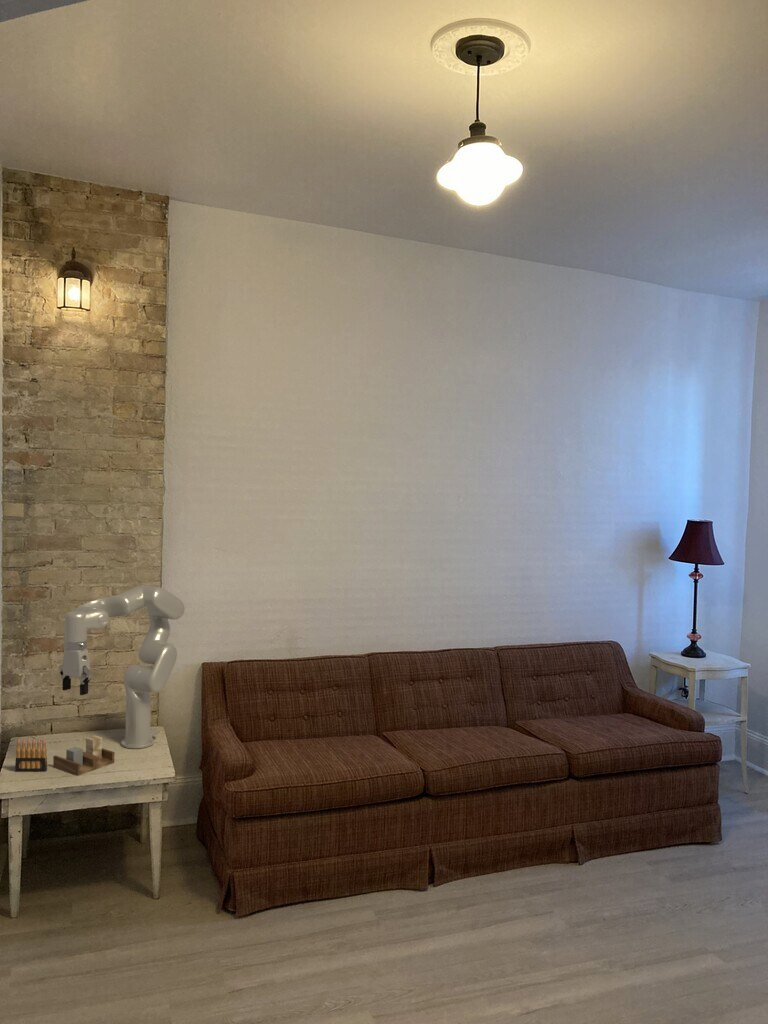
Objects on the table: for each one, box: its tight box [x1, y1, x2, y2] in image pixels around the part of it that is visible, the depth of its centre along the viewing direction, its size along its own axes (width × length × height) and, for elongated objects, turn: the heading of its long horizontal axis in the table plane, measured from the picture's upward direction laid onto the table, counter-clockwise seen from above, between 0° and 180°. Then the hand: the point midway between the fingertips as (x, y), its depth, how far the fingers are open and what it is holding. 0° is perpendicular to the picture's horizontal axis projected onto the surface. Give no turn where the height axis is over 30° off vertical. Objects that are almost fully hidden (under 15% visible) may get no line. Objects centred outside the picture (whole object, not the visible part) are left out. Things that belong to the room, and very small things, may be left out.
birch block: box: [85, 734, 103, 759], centre depth 307 cm, size 4×4×8 cm
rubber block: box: [65, 746, 84, 765], centre depth 300 cm, size 4×4×6 cm
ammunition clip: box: [14, 737, 48, 773], centre depth 296 cm, size 11×2×12 cm, turn 96°
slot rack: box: [52, 747, 115, 777], centre depth 303 cm, size 16×14×4 cm
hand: (75, 692), depth 298 cm, fingers open, 9 cm apart
